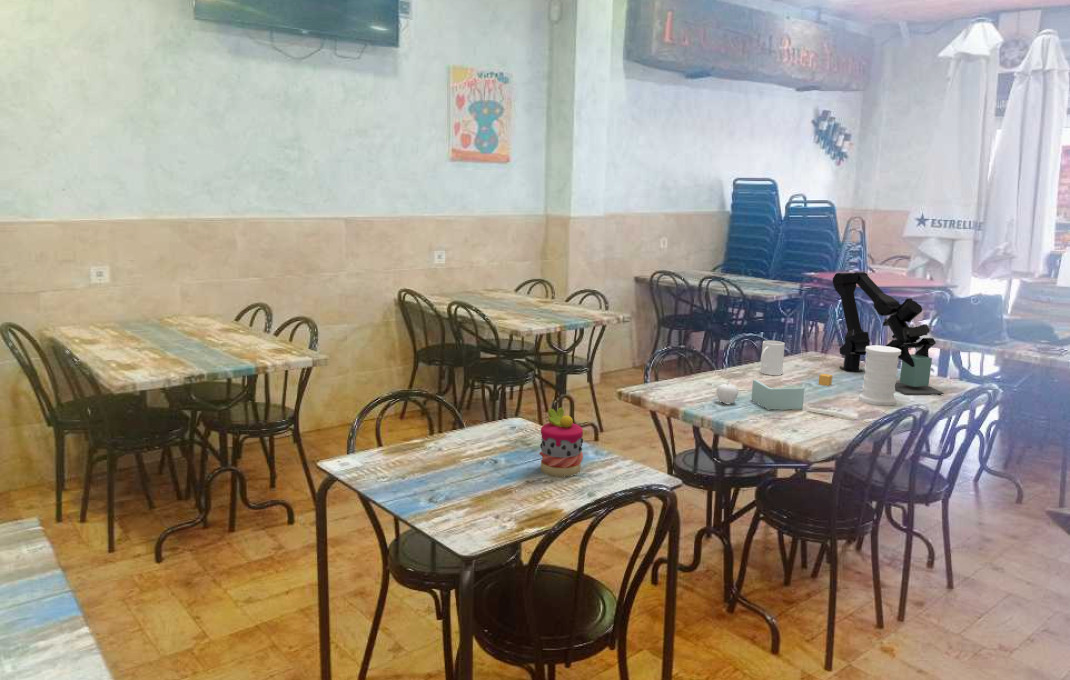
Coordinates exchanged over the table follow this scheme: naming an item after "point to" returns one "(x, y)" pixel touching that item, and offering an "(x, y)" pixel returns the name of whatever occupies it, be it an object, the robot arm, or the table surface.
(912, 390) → the mat
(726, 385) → the plain white apple
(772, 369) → the mug
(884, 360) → the decorative container
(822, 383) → the orange cube
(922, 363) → the green block
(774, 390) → the right angle wall
